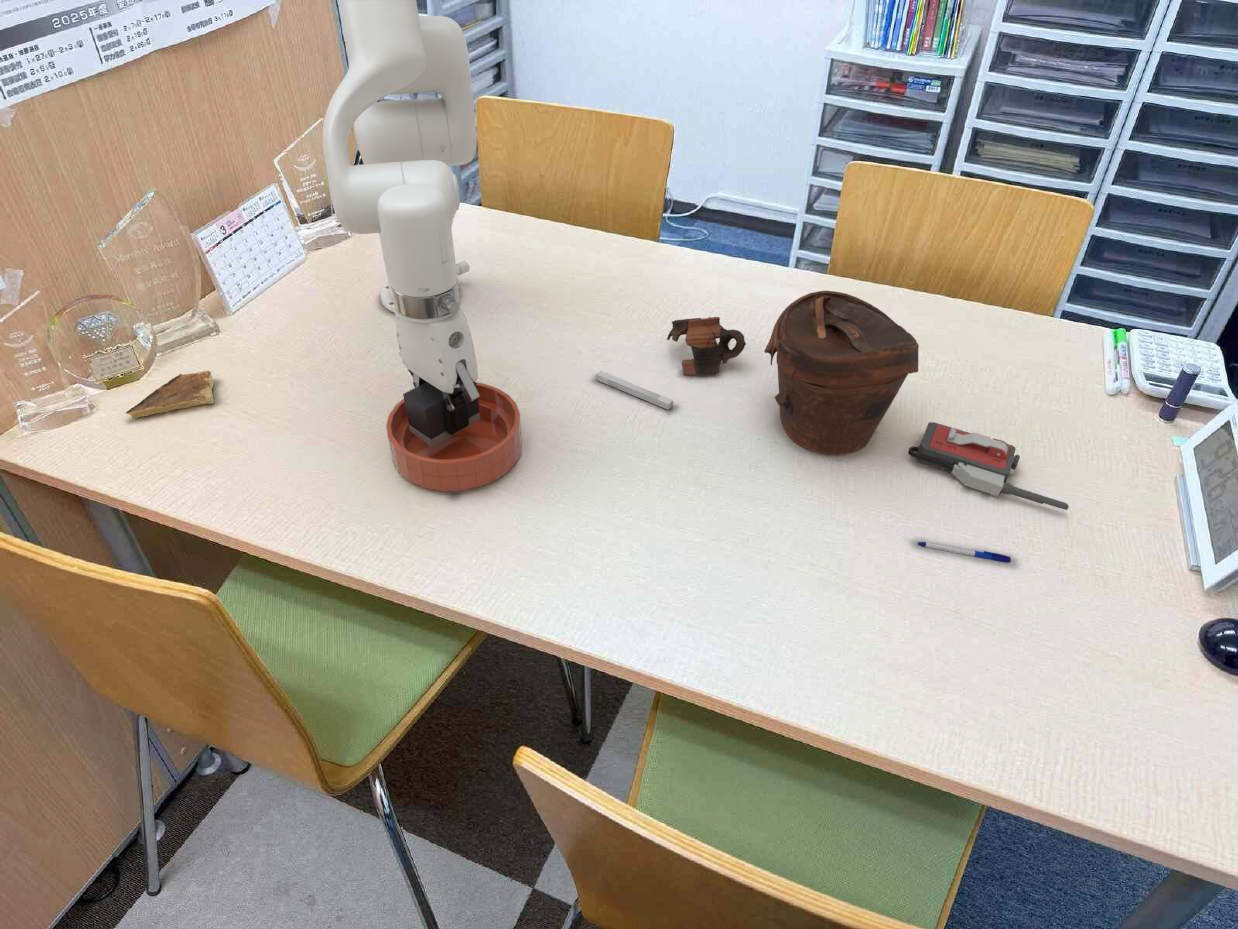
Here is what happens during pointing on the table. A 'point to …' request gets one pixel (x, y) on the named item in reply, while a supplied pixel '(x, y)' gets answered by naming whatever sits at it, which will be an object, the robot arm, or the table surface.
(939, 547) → the ballpoint pen
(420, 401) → the eraser
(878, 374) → the case
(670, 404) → the grey bar
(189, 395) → the shard
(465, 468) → the bowl
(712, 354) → the pottery mug
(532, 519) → the table surface
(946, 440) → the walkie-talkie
